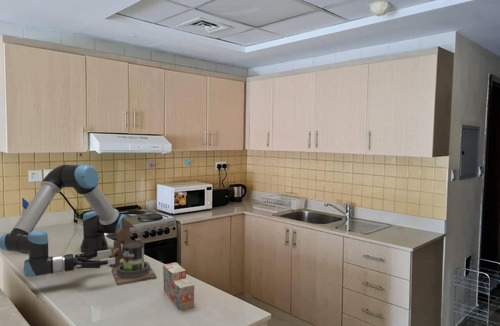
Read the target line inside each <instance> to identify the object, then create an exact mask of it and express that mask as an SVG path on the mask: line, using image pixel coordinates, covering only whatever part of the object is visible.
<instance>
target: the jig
mask: <svg viewBox="0 0 500 326" xmlns="http://www.w3.org/2000/svg"><path fill="white" fill-rule="evenodd" d="M111 273H112V275H113V278H114V279H115V282H116V283H115V284H116V285H117V286H120V285H126V284H132V283H133V284H134V283H137V282H143V281H148V280H155V279H157V275H156V273H155V271H154V270H153V269H152V267H151V265H150V263H149V262H148V261H144V268H143V269H141V270H136V271H124V270H123V263H120V265H119V266H118V267H117V268H113V267H112V268H111Z"/></svg>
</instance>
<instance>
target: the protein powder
mask: <svg viewBox="0 0 500 326" xmlns="http://www.w3.org/2000/svg"><path fill="white" fill-rule="evenodd" d="M21 200H22V205H21V206H22V211H21V216H22V215H23V213H24V212H25V210H26V209H27V207H28V206H29V204H30V203H29V202H28V200H26V199H25V198H24V197H22V198H21ZM21 216H20V217H21ZM33 231H34V230H33ZM33 231H32V232H33ZM20 253H22V254H25V255H26V254H27V255H29V253H27V252H20Z"/></svg>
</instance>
